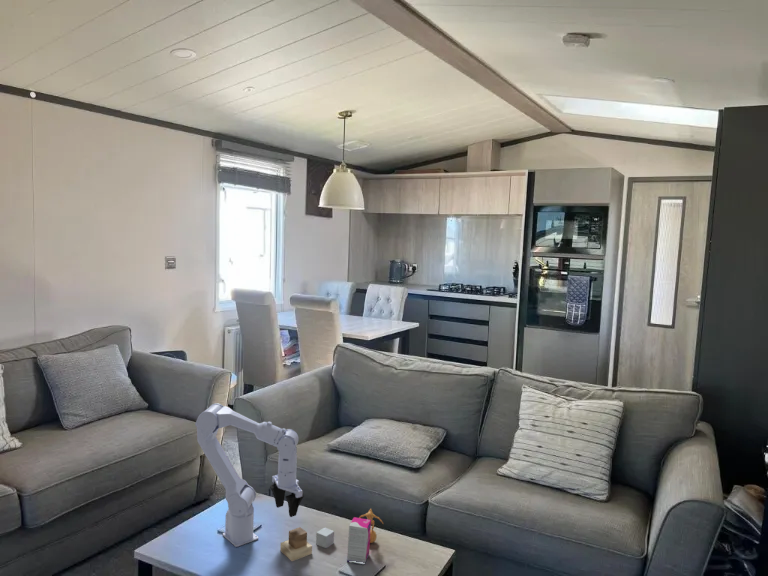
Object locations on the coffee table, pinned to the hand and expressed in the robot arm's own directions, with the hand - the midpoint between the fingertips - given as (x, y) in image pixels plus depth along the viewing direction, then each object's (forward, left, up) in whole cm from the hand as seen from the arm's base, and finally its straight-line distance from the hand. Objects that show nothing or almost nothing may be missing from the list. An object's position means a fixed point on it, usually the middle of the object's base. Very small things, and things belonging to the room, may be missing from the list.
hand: (286, 511), depth 175 cm
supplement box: (+22, +12, -10) cm, 27 cm away
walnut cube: (+8, -1, -7) cm, 11 cm away
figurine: (+18, +20, -10) cm, 29 cm away
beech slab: (+7, -1, -10) cm, 13 cm away
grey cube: (+9, +9, -10) cm, 16 cm away
